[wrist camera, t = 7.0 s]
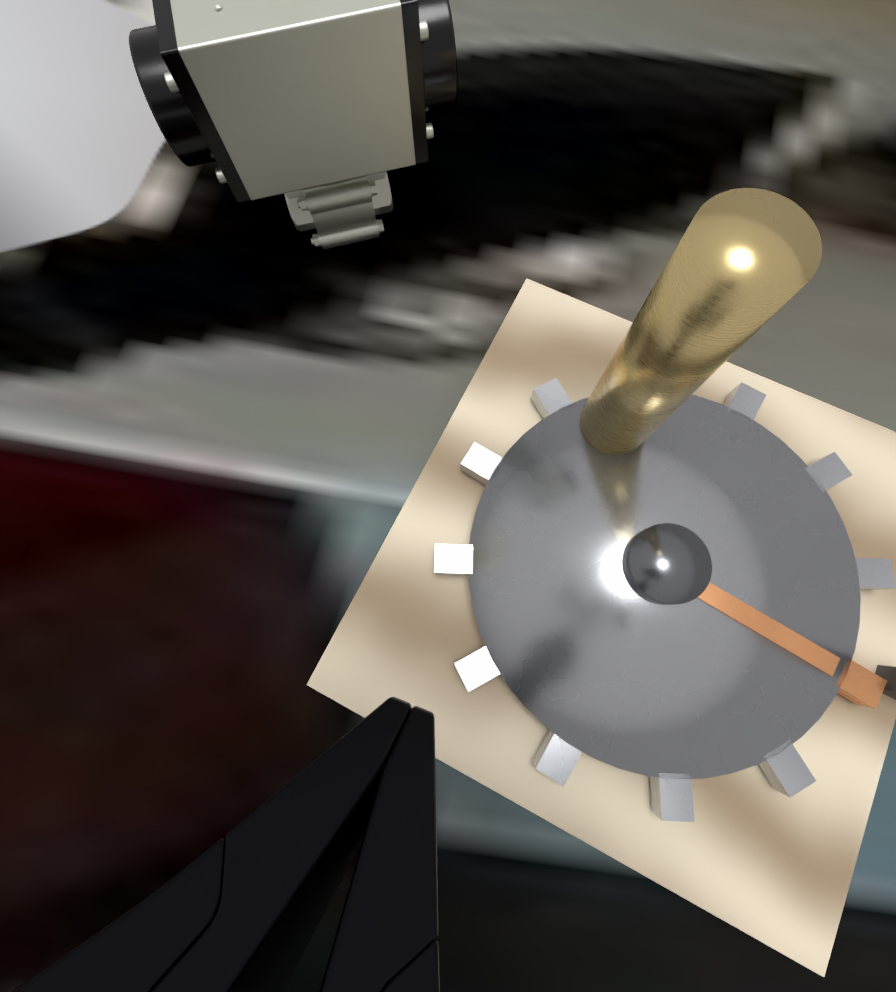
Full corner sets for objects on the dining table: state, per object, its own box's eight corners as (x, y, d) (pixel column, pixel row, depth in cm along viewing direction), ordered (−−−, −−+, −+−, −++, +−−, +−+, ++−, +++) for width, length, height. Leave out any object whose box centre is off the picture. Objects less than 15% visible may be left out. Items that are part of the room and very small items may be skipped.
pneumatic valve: (458, 233, 28) (459, -51, 16) (249, 280, 27) (92, 23, 15) (435, 155, 29) (419, -159, 17) (235, 199, 28) (80, -95, 17)
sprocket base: (805, 959, 19) (867, 1019, 16) (313, 682, 22) (290, 691, 19) (945, 468, 24) (1013, 446, 21) (524, 290, 27) (532, 250, 24)
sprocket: (497, 859, 19) (560, 1227, 7) (400, 420, 24) (345, 225, 12) (950, 743, 20) (1652, 916, 8) (772, 338, 24) (1062, 78, 13)
